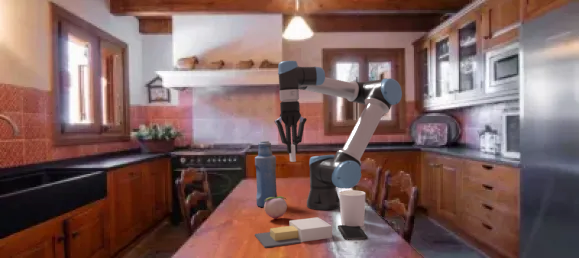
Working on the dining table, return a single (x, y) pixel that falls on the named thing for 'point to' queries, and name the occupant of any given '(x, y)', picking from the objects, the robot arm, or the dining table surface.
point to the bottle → (265, 173)
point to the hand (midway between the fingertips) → (292, 161)
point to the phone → (352, 232)
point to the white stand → (312, 229)
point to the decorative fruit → (275, 206)
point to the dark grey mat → (270, 242)
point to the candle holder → (352, 207)
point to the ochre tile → (283, 233)
